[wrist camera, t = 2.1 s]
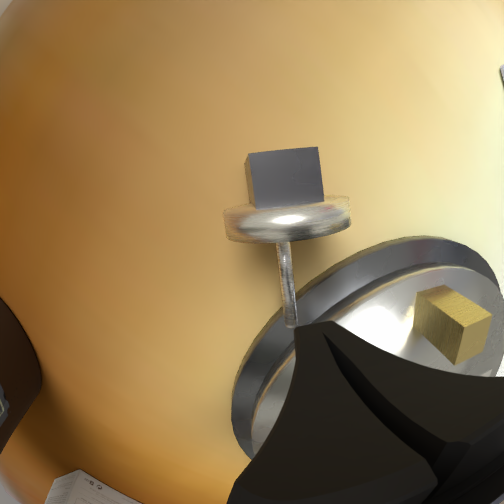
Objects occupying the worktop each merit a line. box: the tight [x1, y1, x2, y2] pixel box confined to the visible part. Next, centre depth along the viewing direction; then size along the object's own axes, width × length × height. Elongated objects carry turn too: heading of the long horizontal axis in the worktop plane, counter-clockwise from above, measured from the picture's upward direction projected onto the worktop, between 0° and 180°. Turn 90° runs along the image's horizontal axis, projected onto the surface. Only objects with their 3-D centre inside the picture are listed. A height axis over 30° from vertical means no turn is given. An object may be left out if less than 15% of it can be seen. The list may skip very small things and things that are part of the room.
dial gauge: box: [223, 147, 351, 329], centre depth 9 cm, size 4×6×5 cm, turn 8°
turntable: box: [251, 262, 504, 455], centre depth 11 cm, size 17×17×4 cm
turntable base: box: [231, 236, 500, 459], centre depth 14 cm, size 19×19×1 cm
